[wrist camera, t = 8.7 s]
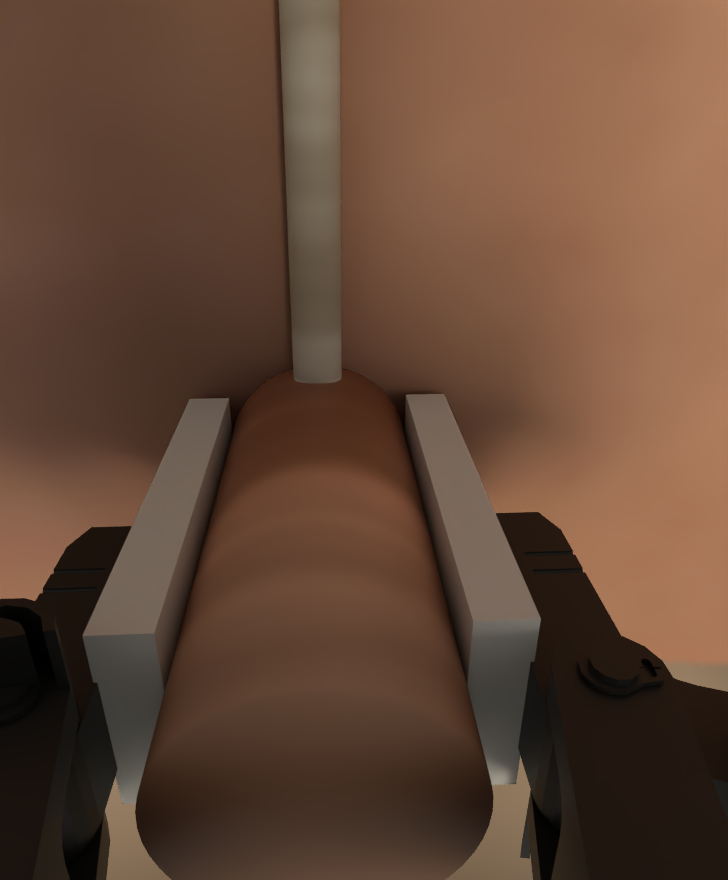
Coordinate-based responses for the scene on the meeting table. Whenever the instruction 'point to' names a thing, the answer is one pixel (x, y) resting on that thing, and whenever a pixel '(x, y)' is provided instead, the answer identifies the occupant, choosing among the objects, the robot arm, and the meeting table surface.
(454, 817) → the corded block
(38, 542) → the meeting table surface
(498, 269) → the meeting table surface
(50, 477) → the meeting table surface
